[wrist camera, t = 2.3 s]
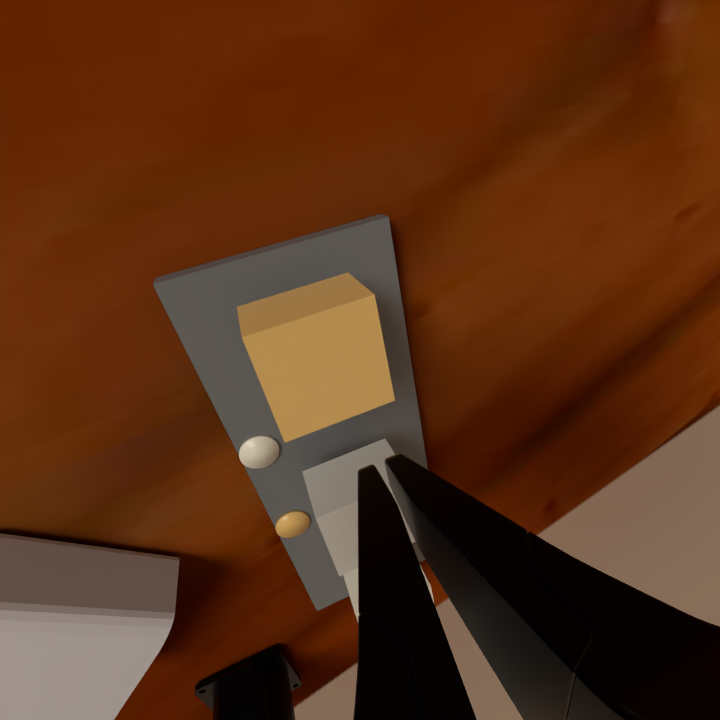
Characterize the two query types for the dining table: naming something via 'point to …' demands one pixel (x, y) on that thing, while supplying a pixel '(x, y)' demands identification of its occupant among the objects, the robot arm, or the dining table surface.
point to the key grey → (344, 500)
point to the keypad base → (246, 396)
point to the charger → (78, 626)
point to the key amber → (318, 353)
